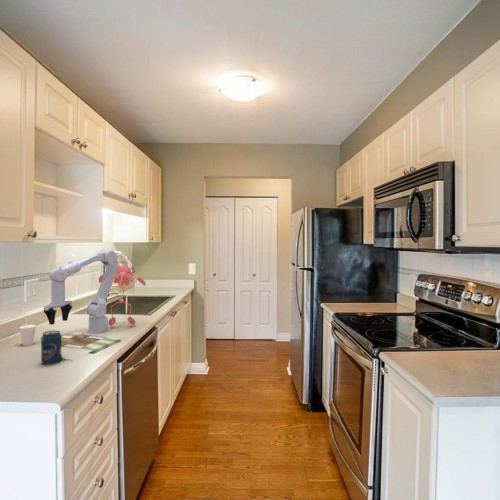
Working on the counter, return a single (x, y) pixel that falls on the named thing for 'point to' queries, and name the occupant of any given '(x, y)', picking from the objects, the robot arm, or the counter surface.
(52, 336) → the soda can
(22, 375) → the counter surface
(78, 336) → the block
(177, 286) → the counter surface
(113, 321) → the figurine
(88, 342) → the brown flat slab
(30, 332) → the smoothie
